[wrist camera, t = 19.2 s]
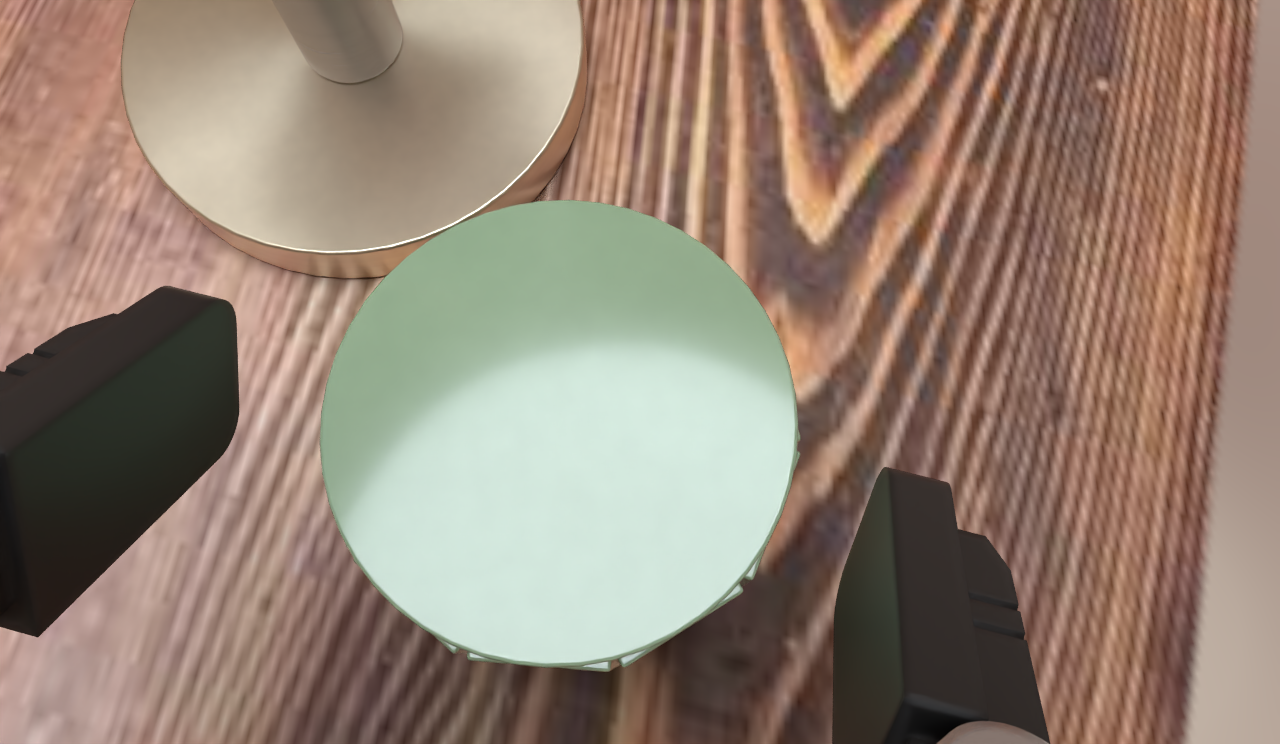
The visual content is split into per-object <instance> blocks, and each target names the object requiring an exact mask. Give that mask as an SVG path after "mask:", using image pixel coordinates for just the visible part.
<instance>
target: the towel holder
mask: <svg viewBox="0 0 1280 744" xmlns="http://www.w3.org/2000/svg"><path fill="white" fill-rule="evenodd" d="M587 78H588V77H587V50H586V39H585V28H584V19H583V13H582V8H581V2H580V0H135V1H134V3H133V6H132V8H131V11H130V15H129V18H128V22H127V26H126V29H125V33H124V38H123V47H122V55H121V86H122V94H123V99H124V104H125V109H126V115H127V118H128V121H129V124H130V127H131V129H132V132H133V135H134V138H135V140H136V143H137V144H138V146H139V148H140V150H141V152H142V154H143V155H144V157H145V159H146V161H147V163H148V164H149V166H150V167H151V169H152V170H153V171H154V172H155V174H156V175H157V176H158V178H159V179H160V180H161V182H162V183H163V184H164V185H165V187H166V188H167V189H168V190H169V191H170V192H171V193H172V194H173V195H174V196H175V197H176V198H177V199H179V200H180V201H181V202H182V203H183V204H184V205H185V206H186V207H187V208H188V209H189V210H190V211H191V212H192V213H193V214H194V215H195V216H196V217H197V218H198V219H199V220H200V221H201V222H202V223H203V224H204V225H205V226H206V227H208V228H209V229H210V230H211V231H212V232H213V233H215V234H216V235H218V236H219V237H221V238H222V239H223V240H225V241H226V242H228V243H229V244H230V245H232V246H233V247H235V248H237V249H239V250H241V251H243V252H245V253H247V254H249V255H251V256H253V257H254V258H256V259H258V260H261V261H264V262H267V263H269V264H272V265H275V266H278V267H281V268H284V269H287V270H291V271H296V272H301V273H305V274H310V275H315V276H326V277H337V278H363V277H379V276H385V275H388V274H389V273H390V272H391V271H392V270H393V269H394V268H395V267H396V266H397V265H399V264H400V263H401V262H402V261H403V260H404V259H405V258H406V257H407V256H409V255H410V254H411V253H413V252H414V251H415V250H417V249H418V248H420V247H421V246H422V245H424V244H425V243H426V242H428V241H429V240H430V239H432V238H434V237H436V236H438V235H439V234H441V233H443V232H445V231H446V230H448V229H450V228H452V227H453V226H455V225H457V224H460V223H462V222H465V221H467V220H469V219H472V218H474V217H477V216H479V215H481V214H484V213H488V212H491V211H495V210H498V209H502V208H505V207H509V206H513V205H519V204H526V203H531V202H532V201H533V200H534V199H535V198H536V197H537V196H538V195H539V193H540V192H541V191H542V190H543V188H544V187H545V186H546V185H547V183H548V182H549V181H550V180H551V178H552V177H553V176H554V174H555V172H556V171H557V169H558V167H559V166H560V164H561V162H562V161H563V159H564V157H565V156H566V154H567V152H568V150H569V147H570V145H571V143H572V140H573V138H574V136H575V133H576V131H577V129H578V125H579V122H580V118H581V114H582V111H583V107H584V103H585V95H586V86H587Z"/></svg>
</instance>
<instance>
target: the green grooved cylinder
mask: <svg viewBox="0 0 1280 744" xmlns="http://www.w3.org/2000/svg"><path fill="white" fill-rule="evenodd" d="M800 440H801V436H800V433H799V429H798V415H797V403H796V393H795V389H794V384H793V380H792V375H791V371H790V366H789V363H788V360H787V357H786V355H785V352H784V349H783V346H782V344H781V341H780V338H779V336H778V334H777V332H776V330H775V328H774V326H773V325H772V323H771V321H770V319H769V317H768V315H767V313H766V311H765V310H764V308H763V307H762V305H761V304H760V303H759V301H758V300H757V298H756V297H755V295H754V294H753V293H752V291H751V290H750V288H749V287H748V286H747V285H746V284H745V283H744V281H743V280H742V279H741V278H740V277H739V276H738V275H737V274H736V273H735V272H734V271H733V270H732V268H731V267H730V266H729V265H728V264H727V263H725V262H724V261H723V260H722V259H721V258H719V257H718V256H717V255H716V254H715V253H713V252H712V251H711V250H710V249H709V248H708V247H706V246H705V245H703V244H702V243H700V242H699V241H697V240H696V239H694V238H692V237H691V236H689V235H688V234H686V233H685V232H683V231H682V230H680V229H677V228H675V227H673V226H671V225H669V224H667V223H665V222H663V221H661V220H659V219H657V218H654V217H651V216H649V215H646V214H643V213H640V212H637V211H634V210H631V209H628V208H623V207H618V206H613V205H609V204H604V203H599V202H587V201H575V200H559V201H538V202H532V203H526V204H519V205H513V206H509V207H505V208H502V209H498V210H495V211H491V212H488V213H484V214H481V215H479V216H477V217H474V218H472V219H469V220H467V221H465V222H462V223H460V224H457V225H455V226H453V227H452V228H450V229H448V230H446V231H445V232H443V233H441V234H439V235H438V236H436V237H434V238H432V239H430V240H429V241H428V242H426V243H425V244H424V245H422V246H421V247H420V248H418V249H417V250H415V251H414V252H413V253H411V254H410V255H409V256H407V257H406V258H405V259H404V260H403V261H402V262H401V263H400V264H399V265H397V266H396V267H395V268H394V269H393V270H392V271H391V272H390V273H389V274H388V275H387V276H386V277H385V278H384V279H383V280H382V281H381V283H380V284H379V285H378V286H377V287H376V289H375V290H374V291H373V292H372V293H371V295H370V296H369V297H368V298H367V299H366V301H365V302H364V304H363V305H362V307H361V308H360V310H359V312H358V313H357V315H356V316H355V318H354V319H353V321H352V323H351V324H350V326H349V328H348V330H347V332H346V334H345V336H344V338H343V340H342V342H341V344H340V347H339V349H338V351H337V353H336V356H335V359H334V362H333V365H332V368H331V371H330V374H329V377H328V380H327V384H326V389H325V395H324V400H323V406H322V411H321V427H320V453H321V465H322V475H323V479H324V484H325V488H326V493H327V497H328V502H329V505H330V508H331V511H332V513H333V516H334V519H335V521H336V524H337V527H338V529H339V532H340V534H341V536H342V538H343V540H344V542H345V544H346V547H347V548H348V549H349V551H350V553H351V554H352V556H353V558H354V562H355V563H356V564H357V565H358V566H359V567H360V568H361V570H362V571H363V572H364V574H365V575H366V576H367V578H368V579H369V580H370V582H371V583H372V584H373V586H374V587H375V588H376V589H377V590H378V591H379V592H380V593H381V594H382V595H383V596H384V597H385V598H386V599H387V600H388V601H389V602H390V603H391V604H392V605H393V606H394V607H395V608H396V609H397V610H398V611H399V612H401V613H402V614H403V615H405V616H406V617H407V618H409V619H410V620H411V621H413V622H414V623H415V624H416V625H418V626H419V627H420V628H422V629H423V630H425V631H427V632H429V633H430V634H432V635H433V636H434V637H435V638H437V639H438V640H439V641H440V642H441V643H442V644H443V645H444V646H445V647H446V648H447V649H448V650H449V651H451V652H452V653H454V654H463V653H467V659H468V660H470V661H480V662H492V663H504V664H513V665H524V666H534V667H544V668H565V669H577V670H589V671H601V672H608V671H610V670H612V669H614V668H616V667H617V666H619V665H621V666H622V667H627V666H629V665H630V664H632V663H634V662H635V661H637V660H638V659H640V658H641V657H643V656H645V655H646V654H648V653H649V652H651V651H652V650H654V649H656V648H657V647H659V646H660V645H662V644H663V643H665V642H667V641H668V640H670V639H671V638H673V637H674V636H676V635H677V634H679V633H681V632H682V631H684V630H685V629H687V628H688V627H690V626H692V625H693V624H695V623H696V622H698V621H699V620H701V619H703V618H704V617H706V616H707V615H709V614H710V613H712V612H714V611H715V610H717V609H718V608H720V607H721V606H723V605H725V604H726V603H728V602H729V601H731V600H732V599H734V598H735V597H737V596H739V595H740V594H742V592H743V588H742V586H744V585H746V584H747V583H749V582H750V581H752V580H753V579H754V577H755V575H756V572H757V569H758V567H759V564H760V561H761V559H762V556H763V553H764V551H765V548H766V546H767V544H768V542H769V540H770V538H771V536H772V534H773V532H774V530H775V528H776V526H777V524H778V522H779V519H780V517H781V515H782V512H783V509H784V506H785V503H786V500H787V497H788V494H789V491H790V488H791V484H792V479H793V473H794V471H795V468H796V465H797V463H798V460H799V457H800V453H799V452H798V451H797V444H798V442H799V441H800Z"/></svg>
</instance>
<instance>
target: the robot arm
mask: <svg viewBox="0 0 1280 744" xmlns="http://www.w3.org/2000/svg"><path fill="white" fill-rule="evenodd" d="M238 417H239V384H238V353H237V323H236V315H235V311H234V309H233V307H232V305H231V304H230V303H229V302H228V301H226V300H223V299H219V298H215V297H211V296H207V295H203V294H199V293H195V292H191V291H187V290H183V289H179V288H175V287H171V286H163V287H160V288H158V289H156V290H155V291H153V292H152V293H150V294H149V295H147V296H146V297H144V298H142V299H141V300H139V301H138V302H136V303H135V304H133V305H132V306H130V307H129V308H127V309H126V310H124V311H122V312H121V313H119V314H114V313H113V314H110V315H107V316H104V317H101V318H98V319H94V320H91V321H88V322H85V323H82V324H79V325H75V326H72V327H69V328H67V329H65V330H64V331H62V332H61V333H59V334H57V335H56V336H54V337H53V338H51V339H49V340H48V341H46V342H45V343H43V344H41V345H40V346H38V347H37V348H35V349H34V353H33V354H29V353H27V354H25V355H24V356H22V357H21V358H19V359H17V360H16V361H14V362H13V363H11V364H9V365H8V366H6V371H5V372H2V371H0V627H3V628H6V629H10V630H14V631H17V632H21V633H24V634H28V635H31V636H35V637H39V636H40V635H41V634H42V633H43V632H44V631H45V630H46V629H47V628H48V627H49V626H50V625H51V624H52V623H53V622H54V621H55V620H56V619H57V618H58V617H59V616H60V615H61V614H62V613H63V612H64V611H65V610H66V609H67V608H68V607H69V606H70V605H71V604H72V603H73V602H74V601H75V600H76V599H77V598H78V597H79V596H80V595H81V594H82V593H83V592H84V591H85V590H86V589H87V588H88V587H89V586H91V585H92V584H93V583H94V582H95V581H96V580H97V579H98V578H99V577H100V576H101V575H102V574H103V573H104V572H105V571H106V570H107V569H108V568H109V567H110V566H111V565H112V564H113V563H114V562H115V561H116V560H117V559H118V558H119V557H120V556H121V555H122V554H123V553H124V552H125V551H126V550H127V549H128V548H129V547H130V546H131V545H132V544H133V543H134V542H135V541H136V540H137V539H138V538H139V537H140V536H141V535H142V534H143V533H144V532H145V531H146V530H147V529H148V528H149V527H150V526H151V525H152V524H153V523H154V522H155V521H156V520H157V519H158V518H159V517H161V516H162V515H163V514H164V513H165V512H166V511H167V510H168V509H169V508H170V507H171V506H172V505H173V504H174V503H175V502H176V501H177V500H178V499H179V498H180V497H181V496H182V495H183V494H184V493H185V492H186V491H187V490H188V489H189V488H190V487H191V486H192V485H193V484H194V483H195V482H196V481H197V480H198V479H199V478H200V477H201V476H202V475H203V474H204V473H205V472H206V471H207V470H208V469H209V468H210V467H211V466H212V465H213V464H214V463H215V462H216V461H217V460H218V459H219V458H220V457H221V456H222V455H223V454H224V452H225V451H226V449H227V448H228V446H229V444H230V442H231V440H232V438H233V435H234V433H235V430H236V426H237V422H238ZM1017 608H1018V600H1017V596H1016V591H1015V587H1014V583H1013V578H1012V574H1011V570H1010V569H1009V568H1008V566H1007V565H1006V563H1005V562H1004V561H1003V559H1002V558H1001V557H1000V555H999V554H998V553H997V551H996V550H995V548H994V547H993V546H992V544H991V543H990V542H989V540H988V539H987V537H986V536H982V535H978V534H974V533H971V532H967V531H963V530H959V529H958V528H957V522H956V516H955V510H954V504H953V498H952V492H951V487H950V485H949V483H947V482H944V481H940V480H936V479H932V478H928V477H924V476H920V475H916V474H912V473H908V472H904V471H900V470H896V469H892V468H888V467H884V468H883V469H882V471H881V472H880V474H879V476H878V478H877V480H876V483H875V485H874V488H873V491H872V493H871V496H870V499H869V501H868V504H867V507H866V510H865V512H864V515H863V518H862V521H861V523H860V526H859V529H858V531H857V534H856V537H855V540H854V542H853V545H852V548H851V550H850V553H849V556H848V559H847V561H846V564H845V567H844V570H843V573H842V577H841V580H840V584H839V589H838V594H837V599H836V605H835V613H834V653H833V726H832V744H1050V741H1049V736H1048V732H1047V727H1046V723H1045V719H1044V714H1043V710H1042V705H1041V701H1040V697H1039V692H1038V688H1037V684H1036V679H1035V675H1034V670H1033V666H1032V662H1031V657H1030V653H1029V648H1028V644H1027V641H1026V640H1024V635H1025V631H1024V627H1023V622H1022V618H1021V613H1020V612H1019V611H1017Z"/></svg>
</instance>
